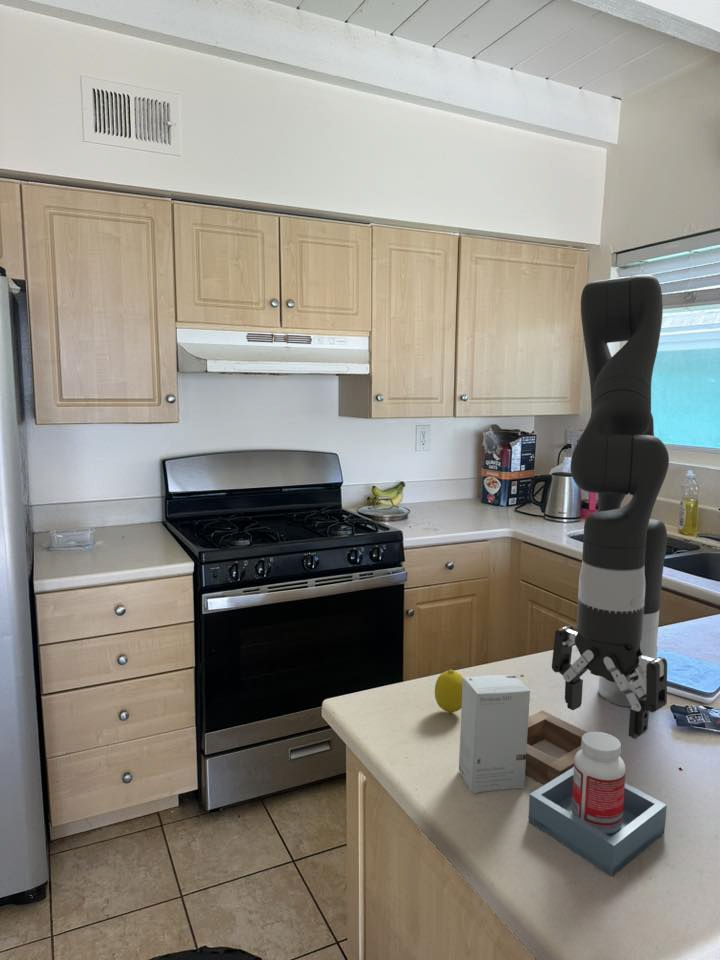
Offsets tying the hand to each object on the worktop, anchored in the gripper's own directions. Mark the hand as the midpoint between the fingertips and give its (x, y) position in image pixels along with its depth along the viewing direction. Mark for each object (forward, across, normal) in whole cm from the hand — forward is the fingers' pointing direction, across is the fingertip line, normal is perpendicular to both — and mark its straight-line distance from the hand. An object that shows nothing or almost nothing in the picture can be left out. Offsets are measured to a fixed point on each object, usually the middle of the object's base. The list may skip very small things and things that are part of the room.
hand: (603, 720), depth 82 cm
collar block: (+15, +13, -8) cm, 21 cm away
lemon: (+15, +32, -6) cm, 36 cm away
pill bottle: (+14, 0, 0) cm, 14 cm away
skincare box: (+15, +15, +3) cm, 22 cm away
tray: (+15, 0, 0) cm, 15 cm away
